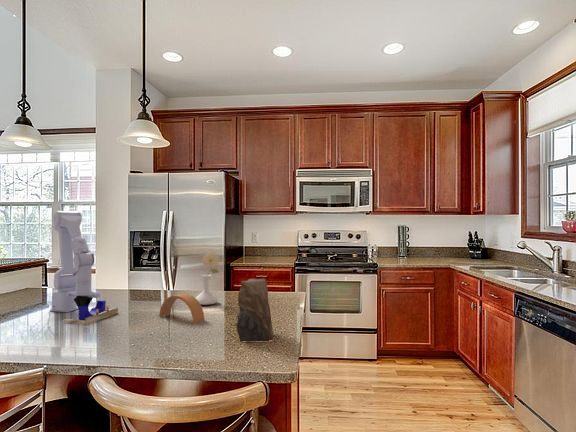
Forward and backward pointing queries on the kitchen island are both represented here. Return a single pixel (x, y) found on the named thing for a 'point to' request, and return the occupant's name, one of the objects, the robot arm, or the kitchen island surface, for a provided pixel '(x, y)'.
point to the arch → (191, 303)
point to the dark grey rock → (254, 311)
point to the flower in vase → (206, 295)
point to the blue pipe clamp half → (85, 311)
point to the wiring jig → (94, 316)
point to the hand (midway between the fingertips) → (83, 314)
